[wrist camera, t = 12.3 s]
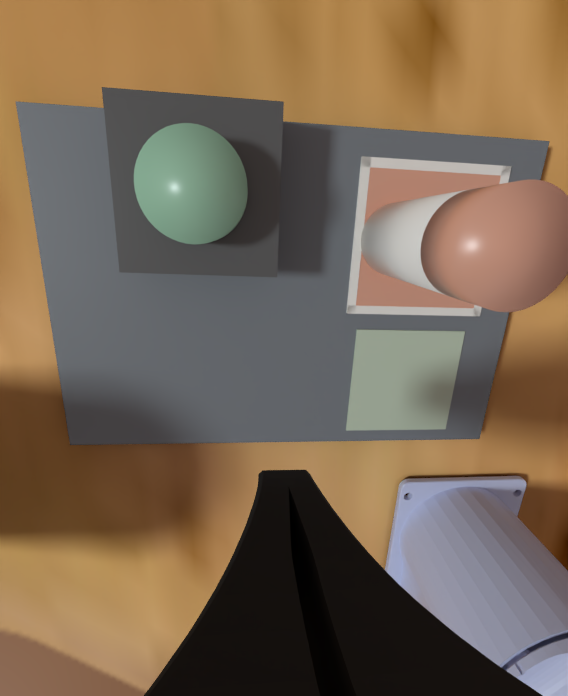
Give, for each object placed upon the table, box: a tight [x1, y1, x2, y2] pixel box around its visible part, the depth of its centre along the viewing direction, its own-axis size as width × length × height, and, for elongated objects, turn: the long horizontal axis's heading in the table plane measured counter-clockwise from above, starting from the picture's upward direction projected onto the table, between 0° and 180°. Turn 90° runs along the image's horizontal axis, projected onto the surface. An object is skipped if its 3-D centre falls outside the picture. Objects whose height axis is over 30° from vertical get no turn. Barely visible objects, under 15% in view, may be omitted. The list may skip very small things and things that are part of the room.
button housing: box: [102, 87, 284, 277], centre depth 14 cm, size 6×6×2 cm
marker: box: [361, 180, 568, 312], centre depth 13 cm, size 3×3×8 cm
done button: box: [134, 123, 248, 244], centre depth 12 cm, size 4×4×1 cm
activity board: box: [16, 102, 549, 445], centre depth 18 cm, size 15×22×1 cm
